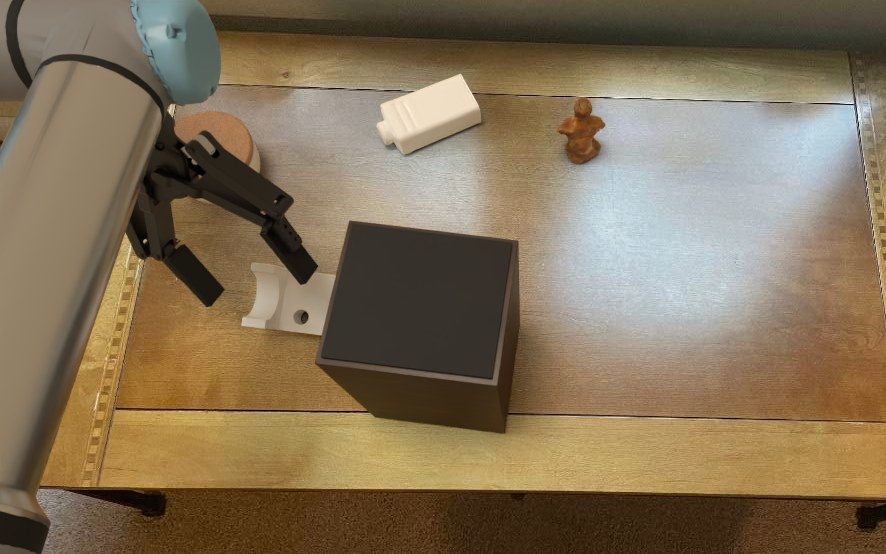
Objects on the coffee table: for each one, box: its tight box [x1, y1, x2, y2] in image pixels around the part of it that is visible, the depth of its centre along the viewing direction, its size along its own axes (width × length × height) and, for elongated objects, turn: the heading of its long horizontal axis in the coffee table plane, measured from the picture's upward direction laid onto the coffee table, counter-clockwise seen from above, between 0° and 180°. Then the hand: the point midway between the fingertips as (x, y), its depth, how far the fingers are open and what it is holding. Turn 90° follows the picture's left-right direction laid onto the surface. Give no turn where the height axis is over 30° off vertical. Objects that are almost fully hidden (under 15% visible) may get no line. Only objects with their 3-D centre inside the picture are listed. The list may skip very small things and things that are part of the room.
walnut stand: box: [314, 219, 521, 435], centre depth 72 cm, size 13×15×25 cm
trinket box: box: [174, 110, 262, 206], centre depth 87 cm, size 11×11×9 cm
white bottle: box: [376, 73, 482, 155], centre depth 93 cm, size 6×13×4 cm, turn 117°
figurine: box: [556, 96, 606, 165], centre depth 89 cm, size 5×6×12 cm
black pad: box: [321, 224, 512, 379], centre depth 60 cm, size 12×14×1 cm
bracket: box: [241, 261, 336, 336], centre depth 82 cm, size 13×7×8 cm, turn 83°
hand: (261, 287), depth 74 cm, fingers open, 13 cm apart
